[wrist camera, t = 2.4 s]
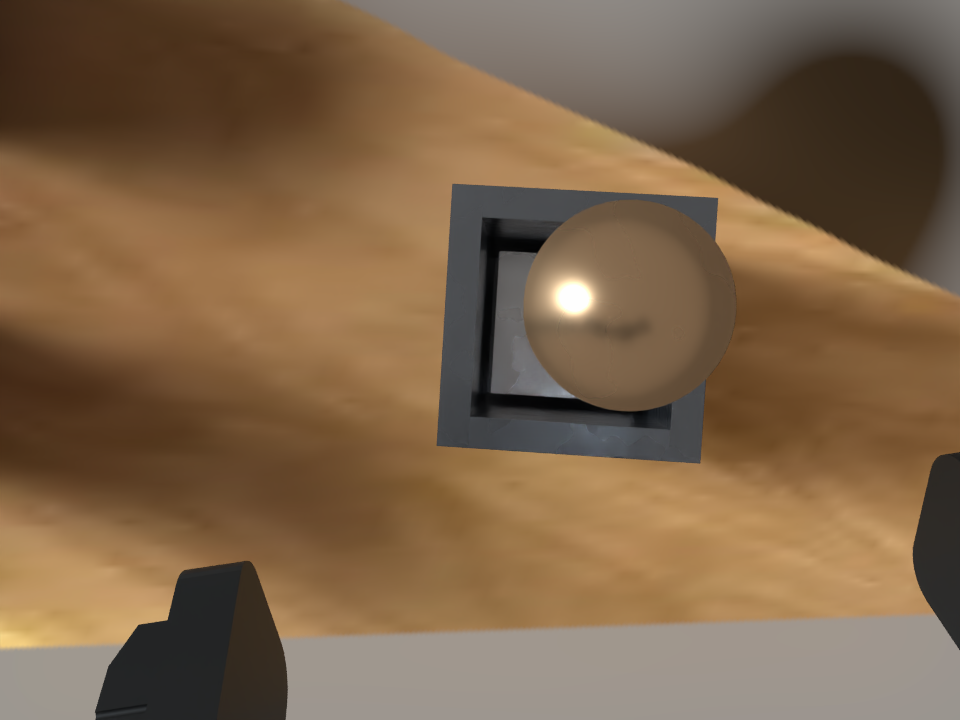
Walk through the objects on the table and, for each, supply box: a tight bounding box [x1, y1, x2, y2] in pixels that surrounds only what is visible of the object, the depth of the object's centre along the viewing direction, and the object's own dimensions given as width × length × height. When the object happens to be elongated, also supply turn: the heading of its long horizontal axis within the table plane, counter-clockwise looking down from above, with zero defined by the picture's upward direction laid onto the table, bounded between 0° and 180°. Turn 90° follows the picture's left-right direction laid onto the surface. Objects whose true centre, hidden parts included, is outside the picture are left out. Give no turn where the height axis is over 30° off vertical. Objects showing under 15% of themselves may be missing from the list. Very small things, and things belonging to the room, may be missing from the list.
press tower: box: [437, 184, 718, 463], centre depth 43 cm, size 10×10×18 cm
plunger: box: [491, 200, 736, 411], centre depth 30 cm, size 7×7×26 cm
